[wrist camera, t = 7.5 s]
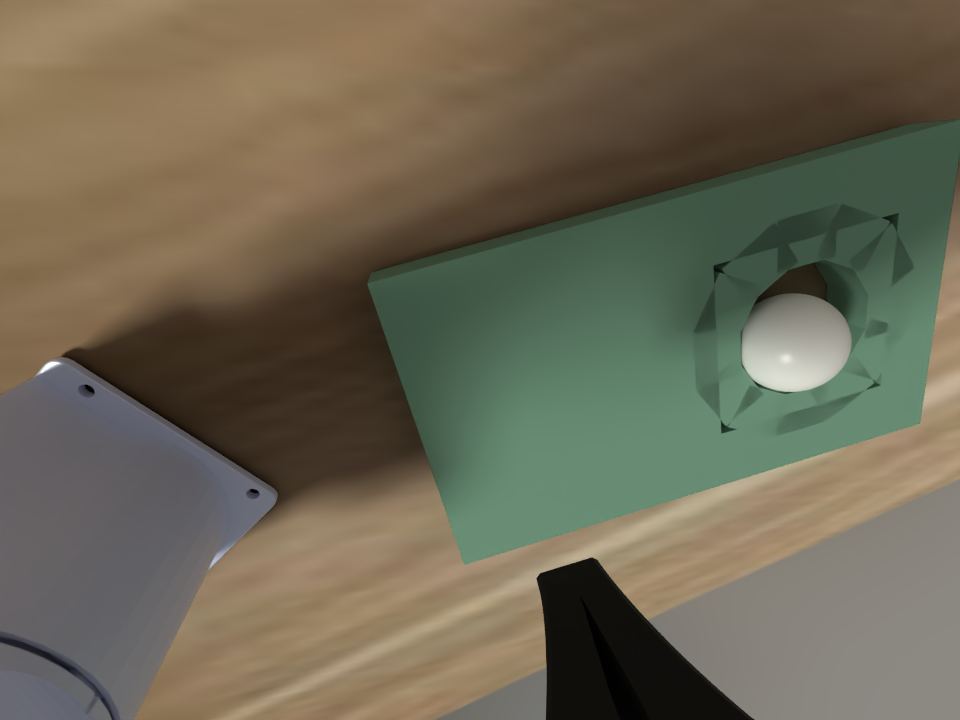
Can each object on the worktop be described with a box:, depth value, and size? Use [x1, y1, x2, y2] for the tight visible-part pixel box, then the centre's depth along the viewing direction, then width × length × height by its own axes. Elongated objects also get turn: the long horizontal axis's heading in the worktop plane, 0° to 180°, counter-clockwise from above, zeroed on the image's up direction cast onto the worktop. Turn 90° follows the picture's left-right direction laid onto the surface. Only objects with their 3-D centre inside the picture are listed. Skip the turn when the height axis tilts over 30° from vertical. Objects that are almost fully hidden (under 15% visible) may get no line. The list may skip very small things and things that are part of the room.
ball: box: [741, 293, 852, 392], centre depth 19 cm, size 4×4×4 cm
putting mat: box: [367, 119, 960, 565], centre depth 20 cm, size 22×13×2 cm, turn 104°
